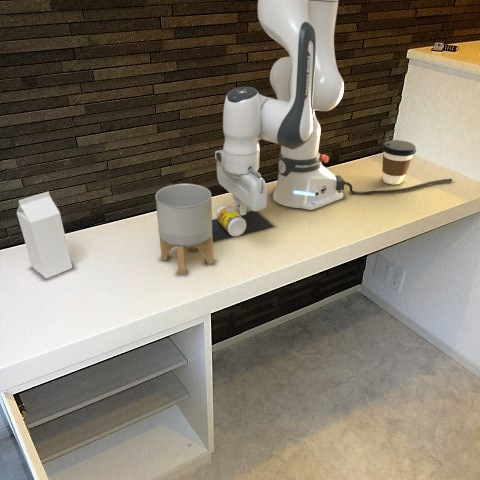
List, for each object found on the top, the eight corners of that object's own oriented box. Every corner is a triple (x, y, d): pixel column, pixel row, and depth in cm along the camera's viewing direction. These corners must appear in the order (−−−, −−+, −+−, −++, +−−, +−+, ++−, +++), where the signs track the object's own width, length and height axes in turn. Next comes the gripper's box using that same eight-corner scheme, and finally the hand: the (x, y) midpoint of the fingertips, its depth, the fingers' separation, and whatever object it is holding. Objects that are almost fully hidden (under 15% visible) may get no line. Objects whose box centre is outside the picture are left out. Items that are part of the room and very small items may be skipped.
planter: (155, 272, 122) (148, 204, 111) (168, 246, 132) (163, 181, 121) (207, 276, 121) (205, 209, 110) (217, 249, 131) (215, 185, 120)
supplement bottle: (227, 238, 135) (212, 222, 142) (245, 236, 137) (230, 220, 144) (229, 218, 132) (214, 203, 139) (248, 217, 134) (232, 202, 141)
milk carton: (72, 268, 123) (56, 196, 111) (46, 279, 119) (26, 205, 107) (58, 257, 127) (41, 186, 115) (32, 267, 123) (11, 195, 111)
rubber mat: (254, 211, 149) (254, 210, 149) (273, 226, 142) (273, 225, 141) (192, 225, 142) (192, 224, 141) (209, 242, 134) (209, 241, 134)
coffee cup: (378, 186, 164) (385, 150, 157) (373, 174, 173) (379, 139, 165) (412, 187, 164) (420, 151, 157) (404, 174, 173) (412, 139, 165)
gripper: (274, 173, 116) (271, 226, 124) (233, 146, 130) (233, 195, 139) (250, 178, 113) (249, 232, 122) (211, 149, 128) (213, 200, 136)
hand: (240, 212), depth 130 cm, fingers closed
